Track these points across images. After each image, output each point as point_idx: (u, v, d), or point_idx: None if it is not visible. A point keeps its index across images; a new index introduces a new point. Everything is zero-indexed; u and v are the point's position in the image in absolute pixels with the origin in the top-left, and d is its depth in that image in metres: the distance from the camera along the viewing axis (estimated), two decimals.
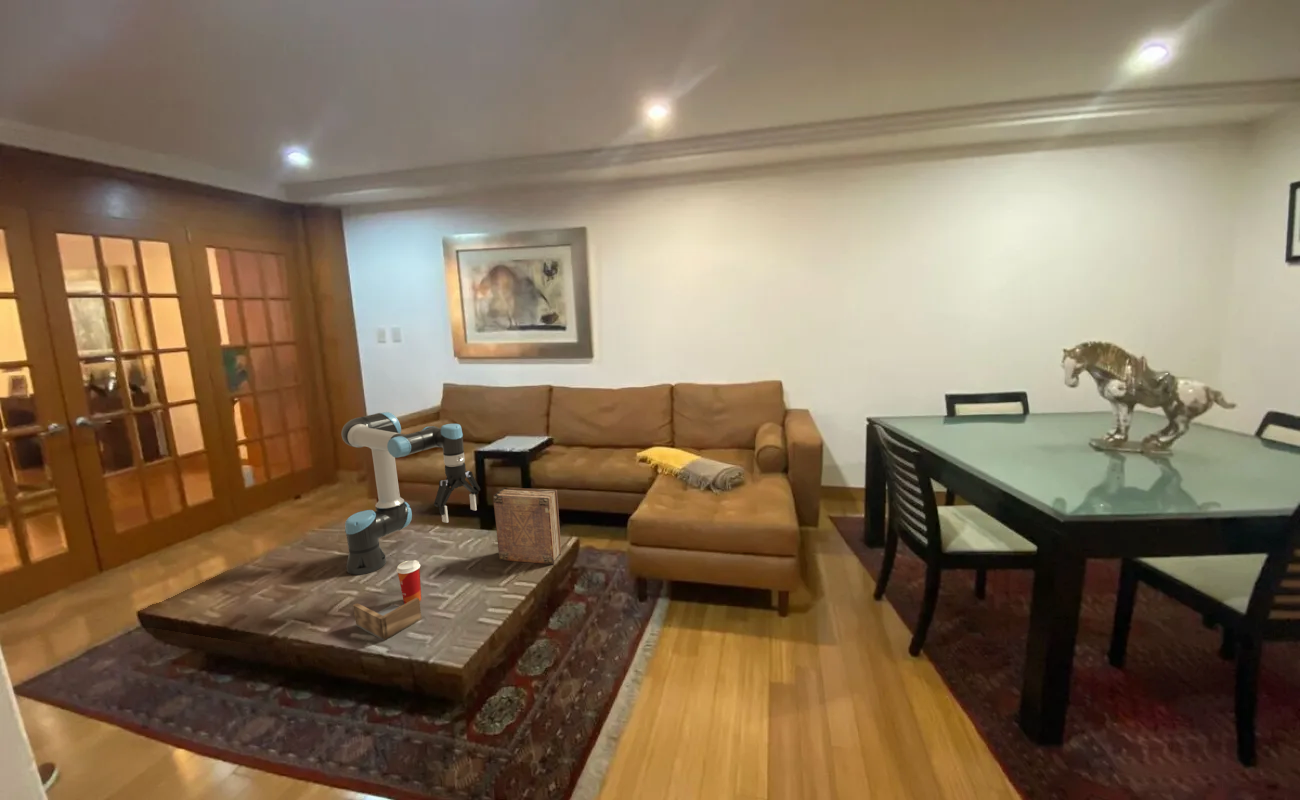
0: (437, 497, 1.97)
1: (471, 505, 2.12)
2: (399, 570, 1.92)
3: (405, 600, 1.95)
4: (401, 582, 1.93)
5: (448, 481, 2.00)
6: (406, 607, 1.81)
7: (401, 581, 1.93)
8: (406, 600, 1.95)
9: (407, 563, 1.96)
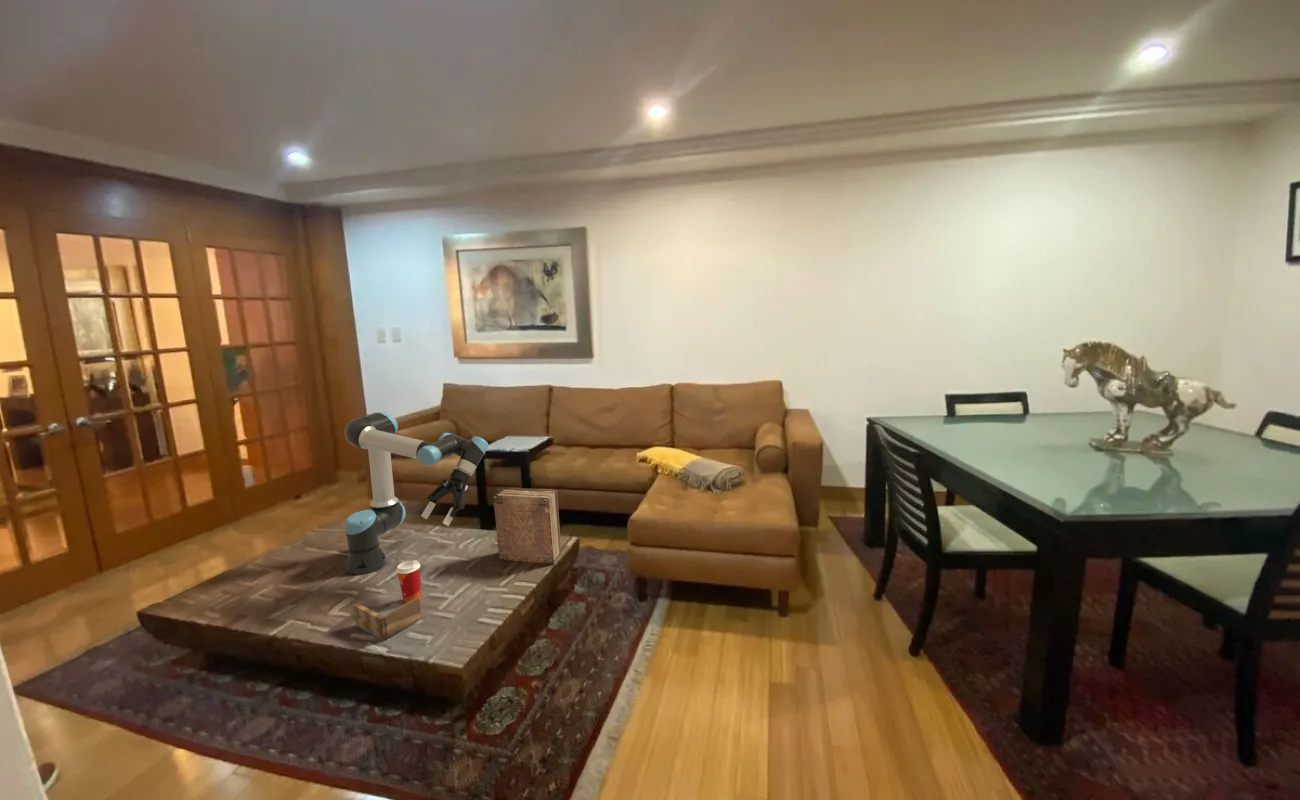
0: (462, 499, 2.02)
1: (425, 512, 2.06)
2: (399, 570, 1.92)
3: (405, 600, 1.95)
4: (401, 582, 1.93)
5: None
6: (406, 607, 1.81)
7: (401, 581, 1.93)
8: (406, 600, 1.95)
9: (407, 563, 1.96)
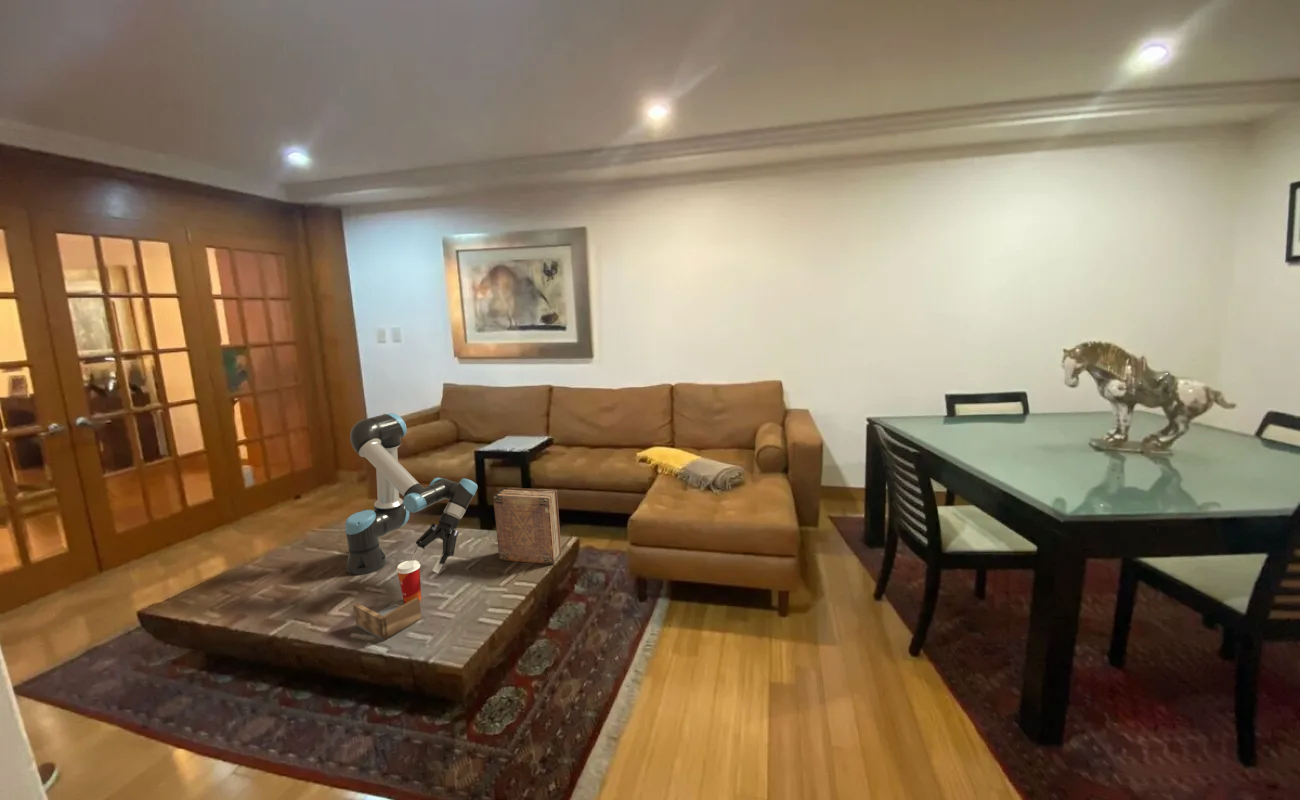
0: (452, 546, 1.99)
1: (414, 558, 2.03)
2: (399, 570, 1.92)
3: (405, 600, 1.95)
4: (401, 582, 1.93)
5: None
6: (406, 607, 1.81)
7: (401, 581, 1.93)
8: (406, 600, 1.95)
9: (407, 563, 1.96)
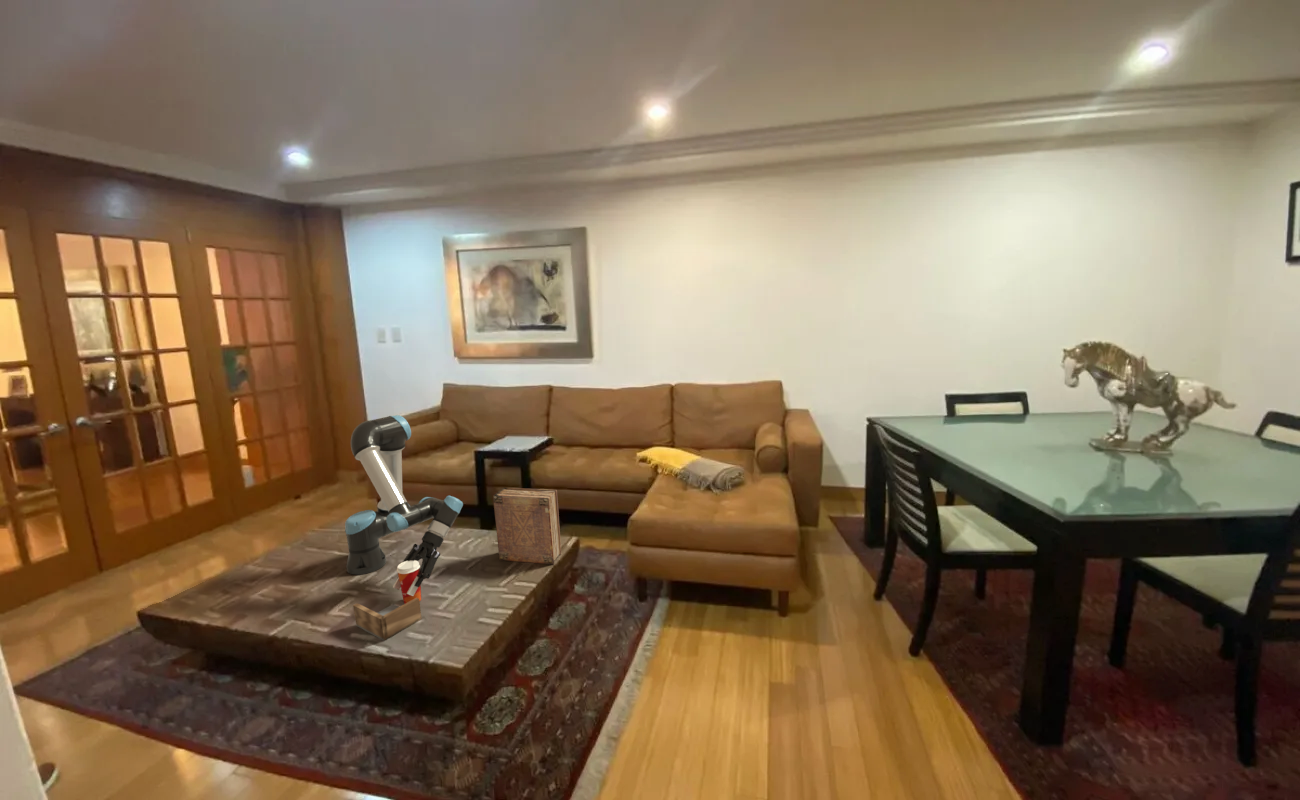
0: (429, 568, 1.95)
1: (397, 583, 1.97)
2: (399, 570, 1.92)
3: (405, 600, 1.95)
4: (401, 582, 1.93)
5: None
6: (406, 607, 1.81)
7: (401, 581, 1.93)
8: (406, 600, 1.95)
9: (407, 563, 1.96)
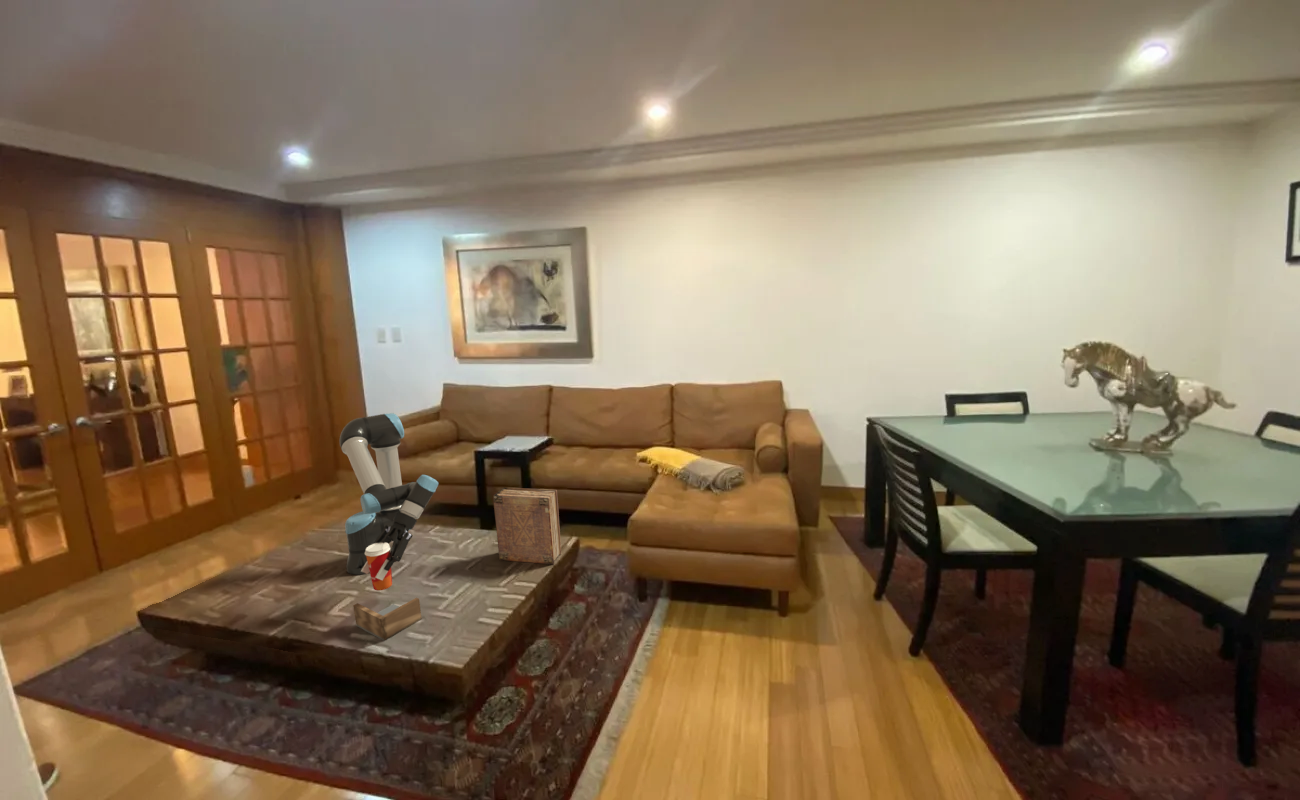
0: (400, 551, 1.82)
1: (366, 567, 1.84)
2: (367, 552, 1.79)
3: (374, 585, 1.82)
4: (370, 566, 1.80)
5: None
6: (406, 607, 1.81)
7: (370, 564, 1.80)
8: (375, 585, 1.82)
9: (377, 545, 1.83)
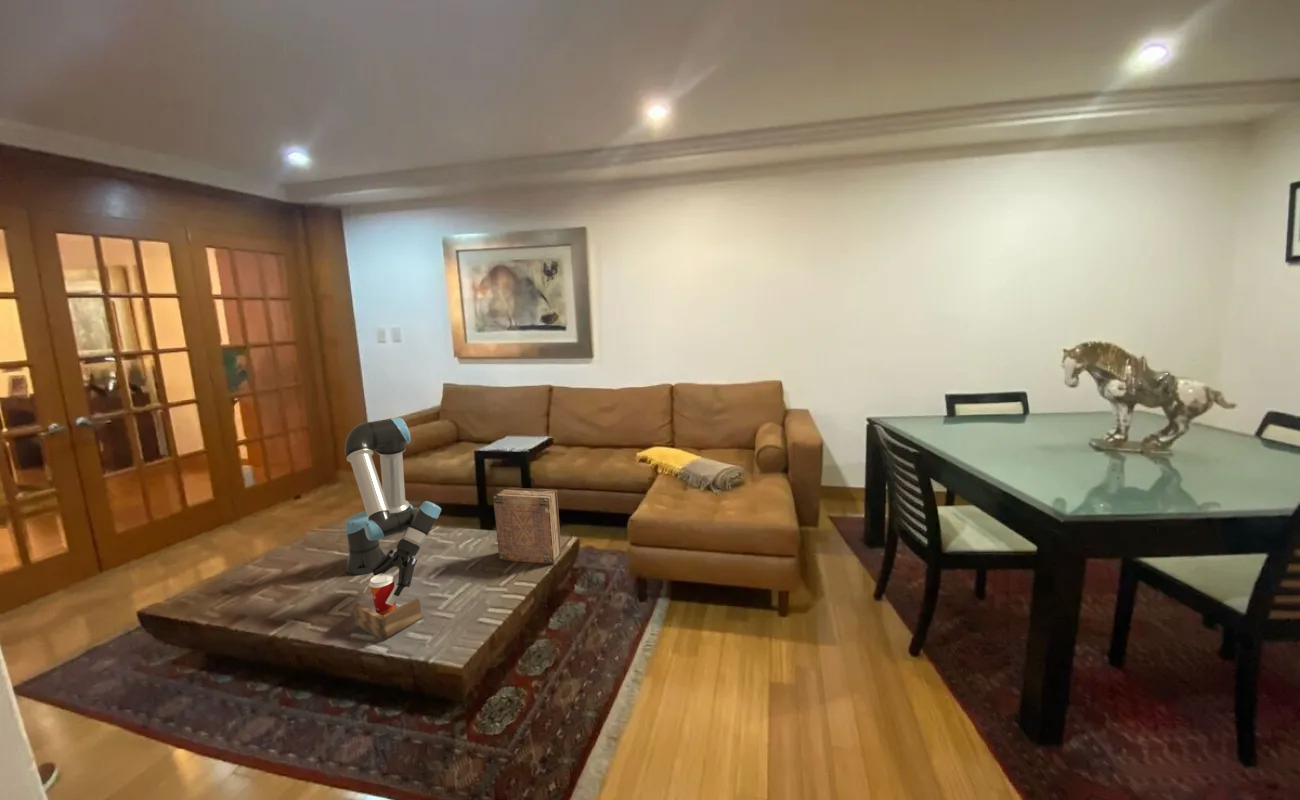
0: (408, 576, 1.84)
1: (368, 588, 1.88)
2: (372, 584, 1.82)
3: None
4: (374, 597, 1.83)
5: None
6: (406, 607, 1.81)
7: (374, 595, 1.83)
8: None
9: (381, 576, 1.86)
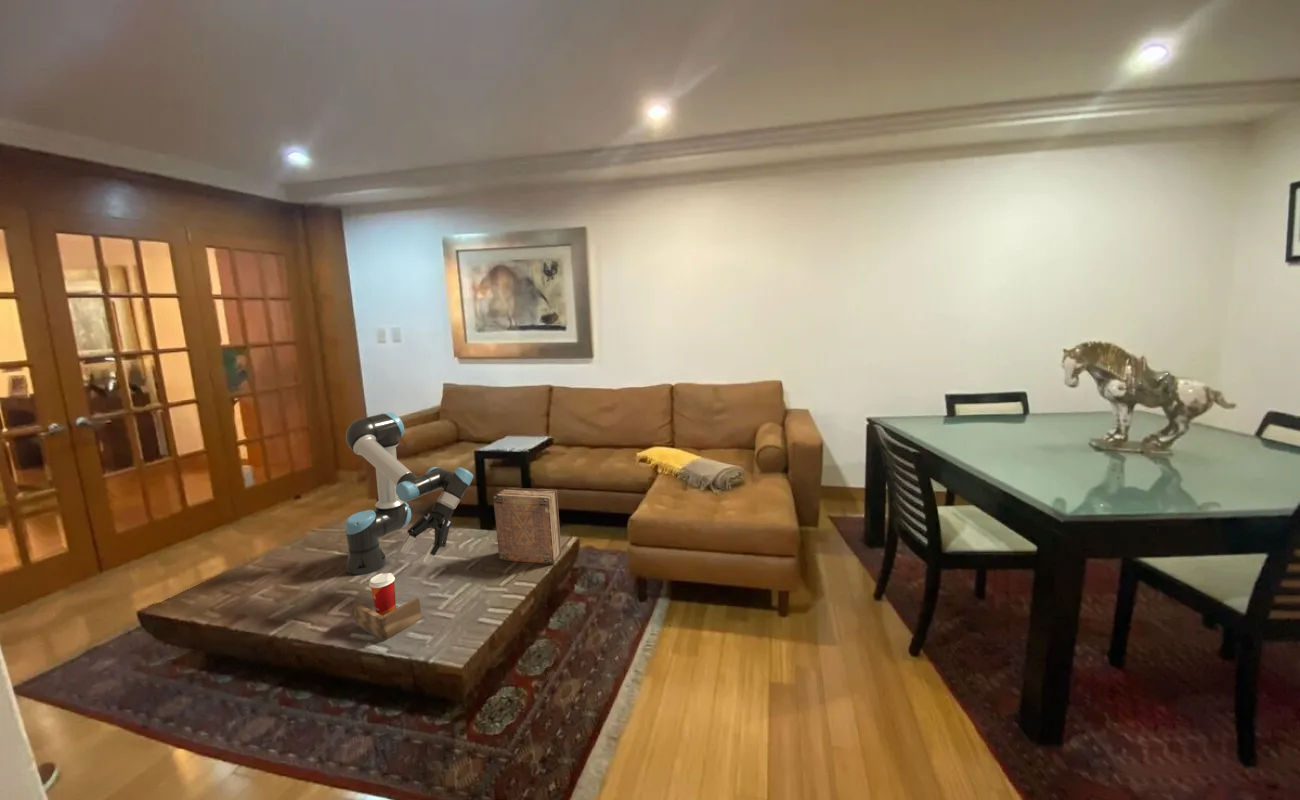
0: (444, 536, 1.94)
1: (405, 548, 1.97)
2: (372, 584, 1.82)
3: None
4: (374, 597, 1.83)
5: None
6: (406, 607, 1.81)
7: (374, 595, 1.83)
8: None
9: (381, 576, 1.86)
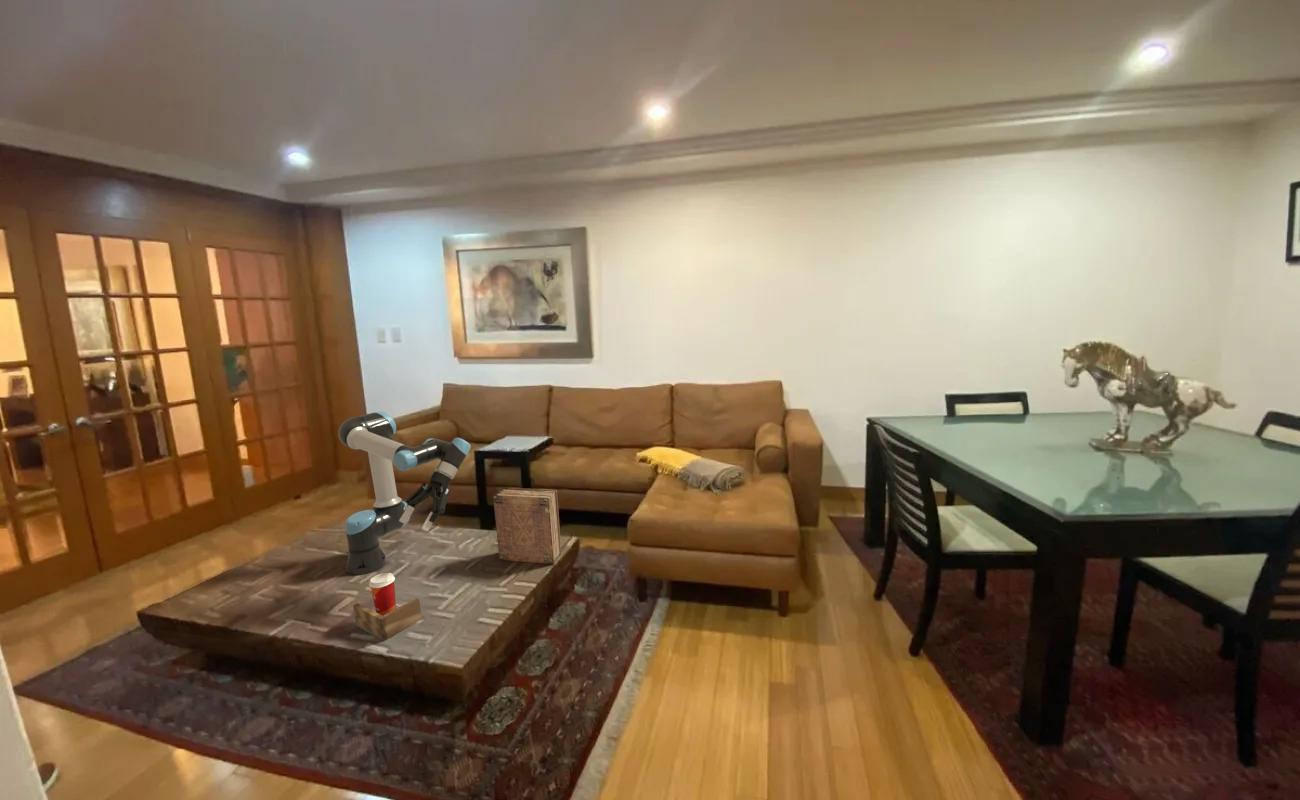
0: (442, 504, 1.94)
1: (404, 517, 1.97)
2: (372, 584, 1.82)
3: None
4: (374, 597, 1.83)
5: None
6: (406, 607, 1.81)
7: (374, 595, 1.83)
8: None
9: (381, 576, 1.86)
